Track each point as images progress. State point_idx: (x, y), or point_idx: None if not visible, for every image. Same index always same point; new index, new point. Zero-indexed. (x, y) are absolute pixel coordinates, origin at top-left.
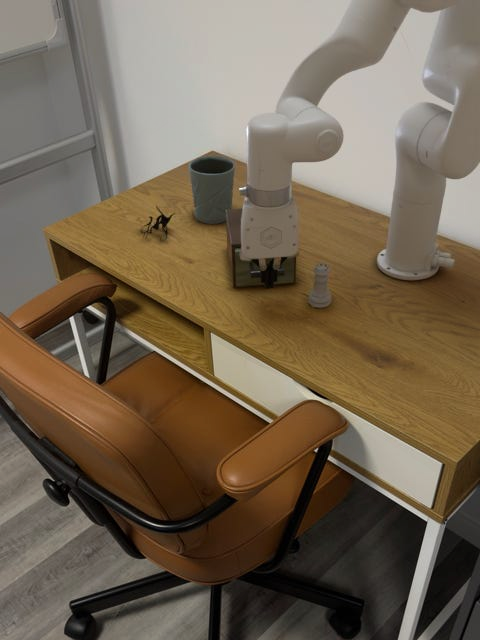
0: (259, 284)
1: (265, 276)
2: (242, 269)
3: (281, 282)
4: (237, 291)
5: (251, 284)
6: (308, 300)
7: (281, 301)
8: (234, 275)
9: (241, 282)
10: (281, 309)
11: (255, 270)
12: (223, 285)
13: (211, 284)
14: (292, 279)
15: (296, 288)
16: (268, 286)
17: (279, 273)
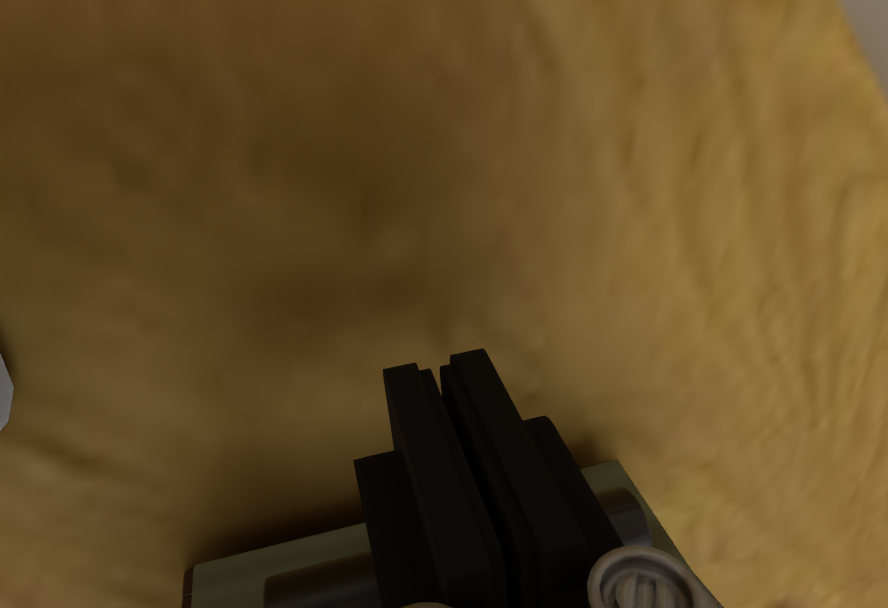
0: None
1: (541, 477)
2: None
3: (292, 546)
4: (598, 430)
5: None
6: (6, 375)
7: (278, 356)
8: None
9: (598, 490)
10: (271, 246)
11: None
12: (670, 472)
13: (733, 471)
14: (201, 586)
15: (166, 519)
16: (457, 375)
17: (328, 589)
